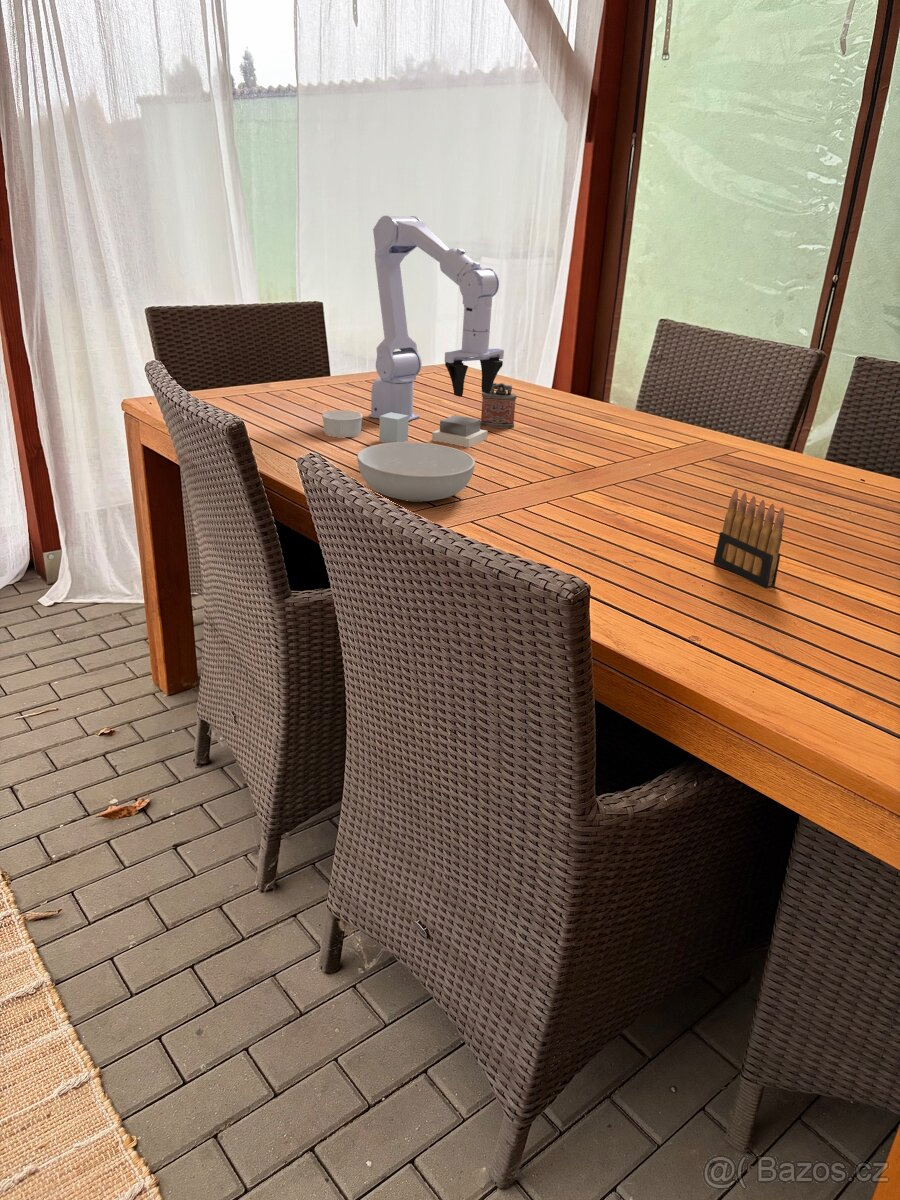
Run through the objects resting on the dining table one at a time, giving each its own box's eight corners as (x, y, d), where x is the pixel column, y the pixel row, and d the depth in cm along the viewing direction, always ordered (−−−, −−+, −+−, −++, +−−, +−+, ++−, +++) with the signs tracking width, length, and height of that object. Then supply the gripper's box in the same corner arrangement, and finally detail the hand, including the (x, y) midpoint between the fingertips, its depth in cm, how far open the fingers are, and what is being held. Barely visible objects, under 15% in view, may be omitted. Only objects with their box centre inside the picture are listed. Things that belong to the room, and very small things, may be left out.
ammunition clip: (712, 562, 137) (727, 487, 132) (721, 560, 138) (736, 486, 133) (766, 588, 129) (783, 510, 124) (774, 586, 130) (792, 508, 125)
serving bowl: (385, 519, 147) (386, 479, 144) (339, 482, 164) (339, 446, 161) (494, 506, 156) (496, 468, 154) (440, 472, 173) (441, 437, 170)
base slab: (432, 443, 195) (432, 432, 193) (451, 435, 202) (451, 424, 201) (468, 450, 191) (469, 439, 190) (486, 441, 198) (487, 430, 197)
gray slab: (439, 431, 194) (440, 420, 193) (454, 426, 199) (454, 415, 198) (465, 436, 191) (466, 425, 190) (479, 430, 197) (480, 419, 196)
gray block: (379, 441, 192) (379, 416, 189) (390, 437, 195) (390, 412, 193) (397, 444, 190) (397, 419, 187) (407, 440, 193) (408, 415, 191)
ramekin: (314, 435, 193) (314, 415, 192) (334, 427, 201) (334, 407, 199) (350, 441, 191) (350, 421, 189) (369, 432, 198) (369, 413, 196)
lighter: (514, 425, 211) (517, 382, 206) (513, 428, 208) (517, 385, 203) (480, 422, 211) (483, 380, 207) (479, 426, 208) (482, 383, 204)
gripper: (460, 334, 181) (456, 401, 186) (514, 331, 189) (509, 395, 195) (440, 329, 186) (436, 394, 192) (493, 326, 194) (489, 388, 200)
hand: (472, 394), depth 193 cm, fingers open, 7 cm apart
